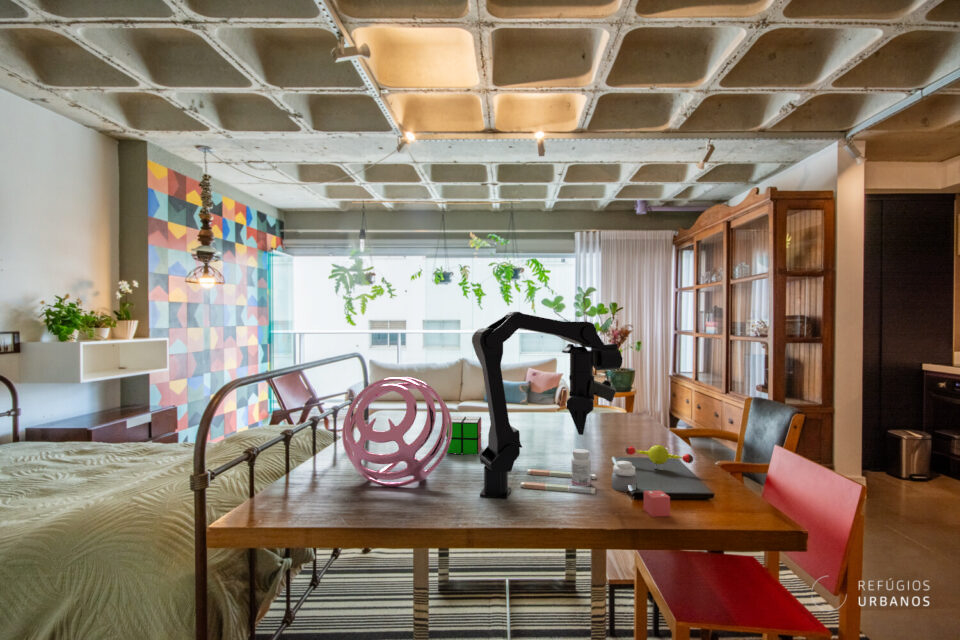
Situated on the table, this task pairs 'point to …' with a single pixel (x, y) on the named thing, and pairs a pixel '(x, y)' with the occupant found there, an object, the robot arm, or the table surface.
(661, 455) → the molecule model
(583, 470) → the pill bottle
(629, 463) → the dome
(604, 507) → the table surface
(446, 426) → the pink openwork sphere
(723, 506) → the table surface
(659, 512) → the red die
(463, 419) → the puzzle cube
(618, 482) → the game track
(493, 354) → the robot arm
